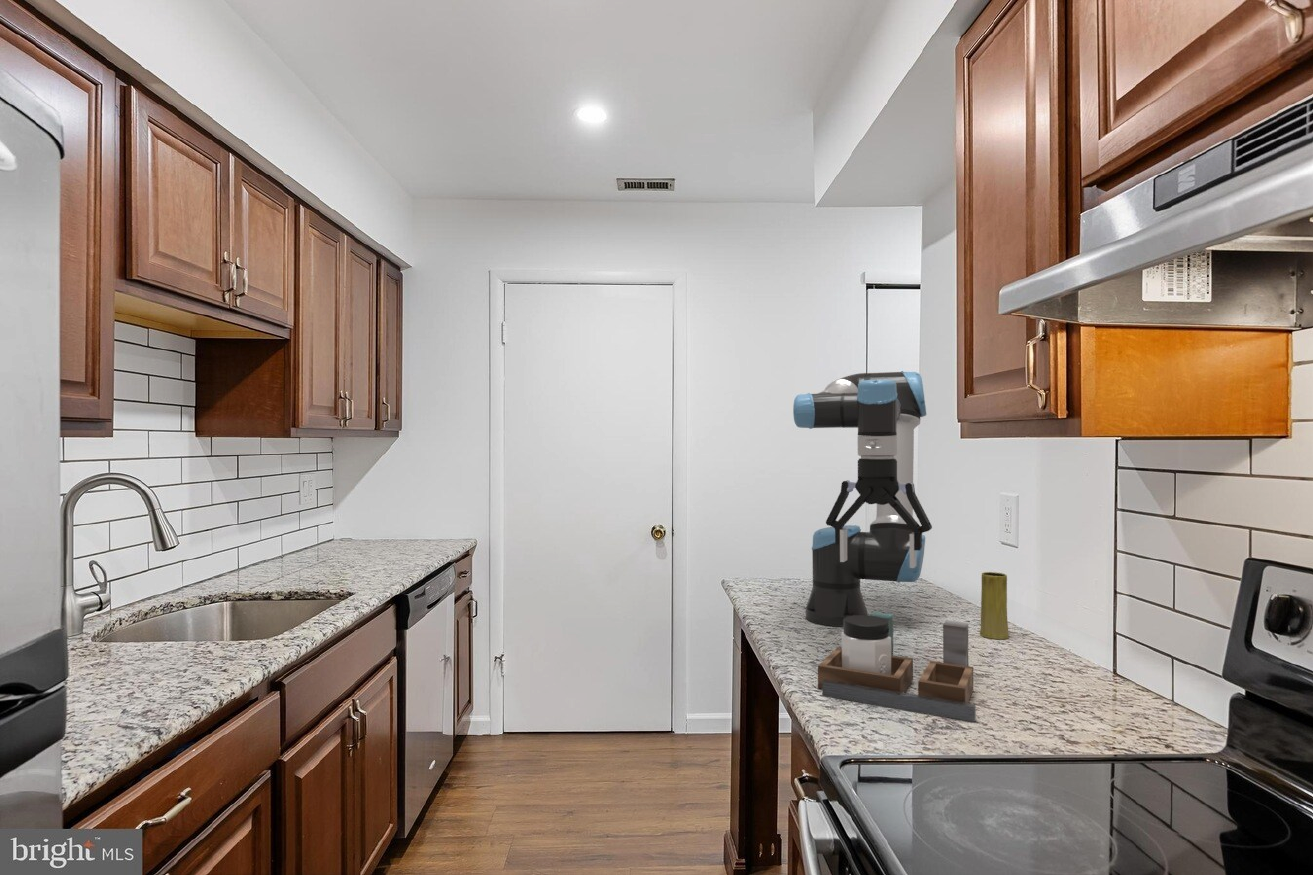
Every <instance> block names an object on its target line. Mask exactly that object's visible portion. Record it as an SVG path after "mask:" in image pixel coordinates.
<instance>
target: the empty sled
mask: <svg viewBox="0 0 1313 875" xmlns="http://www.w3.org/2000/svg"><path fill="white" fill-rule="evenodd" d="M942 647H943V648H942V656H943V657H942V662H941V661H933V660H930V661H929V663H928V664H927V666H926V667H925V669H924V671H923V673H922V674H921V676H920V677H919V679H918V680H917V681H918V682H917V693H918V694H917V695H922V696H928V697H934V698H940V699H946V700H952V701H958V702H964V703H970V700H971V696H972V694H973V691H974V666H971V665H970V666H969V622H967V621H966V622H965V621H955V620H946V619H945V621H944V623H943V624H942Z"/></svg>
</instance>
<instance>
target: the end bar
mask: <svg viewBox="0 0 1313 875" xmlns="http://www.w3.org/2000/svg"><path fill="white" fill-rule="evenodd" d="M821 690H822V692H821V696H822V697H828V698H834V699H839V700H845V701H850V702H857V703H864V704H869V705H873V706H874V705H875V706H879V707H886V708H892V709H897V710H903V711H909V712H914V713H921V714H926V715H931V716H937V717H943V718H948V719H952V720H953V719H955V720H959V721H960V720H961V721H967V722H971V723H975V722H976V719H977V718H976V714H977V713H976V712H977V711H976V707H977V706H976V704H975V703H970V702H969V703H964V702H958V701H952V700H946V699H940V698H934V697H928V696H922V695H918V694H913V693H909V692H905V693H903V692H897V691H891V690H885V689H879V688H873V687H866V686H860V685H854V684H848V683H842V682H836V681H830V680H824V681H823V682H822V688H821Z"/></svg>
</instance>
